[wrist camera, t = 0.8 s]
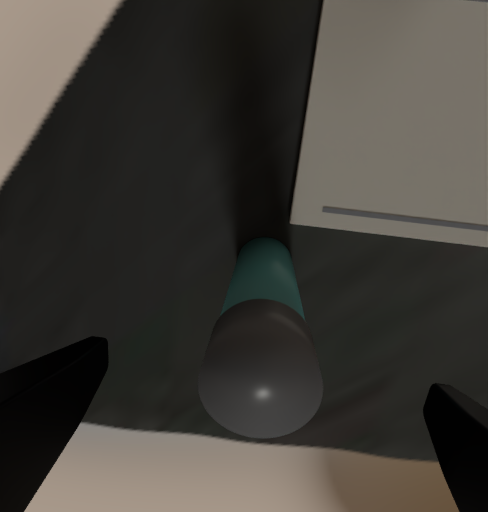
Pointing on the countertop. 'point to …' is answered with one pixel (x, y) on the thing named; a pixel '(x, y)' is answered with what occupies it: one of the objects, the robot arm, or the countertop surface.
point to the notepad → (398, 121)
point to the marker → (261, 349)
